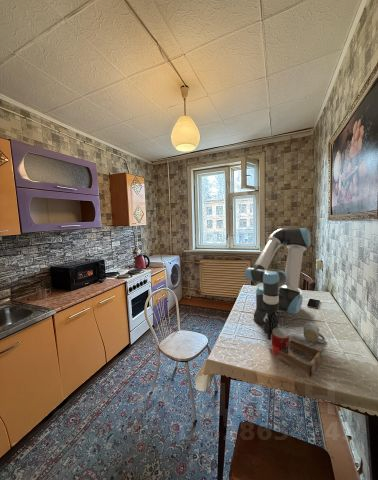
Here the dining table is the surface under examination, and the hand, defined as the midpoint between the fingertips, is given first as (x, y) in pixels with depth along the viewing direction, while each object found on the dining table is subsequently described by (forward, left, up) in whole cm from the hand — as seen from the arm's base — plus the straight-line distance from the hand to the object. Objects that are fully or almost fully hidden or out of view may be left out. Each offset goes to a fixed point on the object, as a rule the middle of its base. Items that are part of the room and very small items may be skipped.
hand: (270, 344), depth 107 cm
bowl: (-48, -18, -2) cm, 52 cm away
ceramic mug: (-24, +13, -2) cm, 27 cm away
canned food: (0, +5, -2) cm, 6 cm away
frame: (0, +15, -2) cm, 15 cm away
